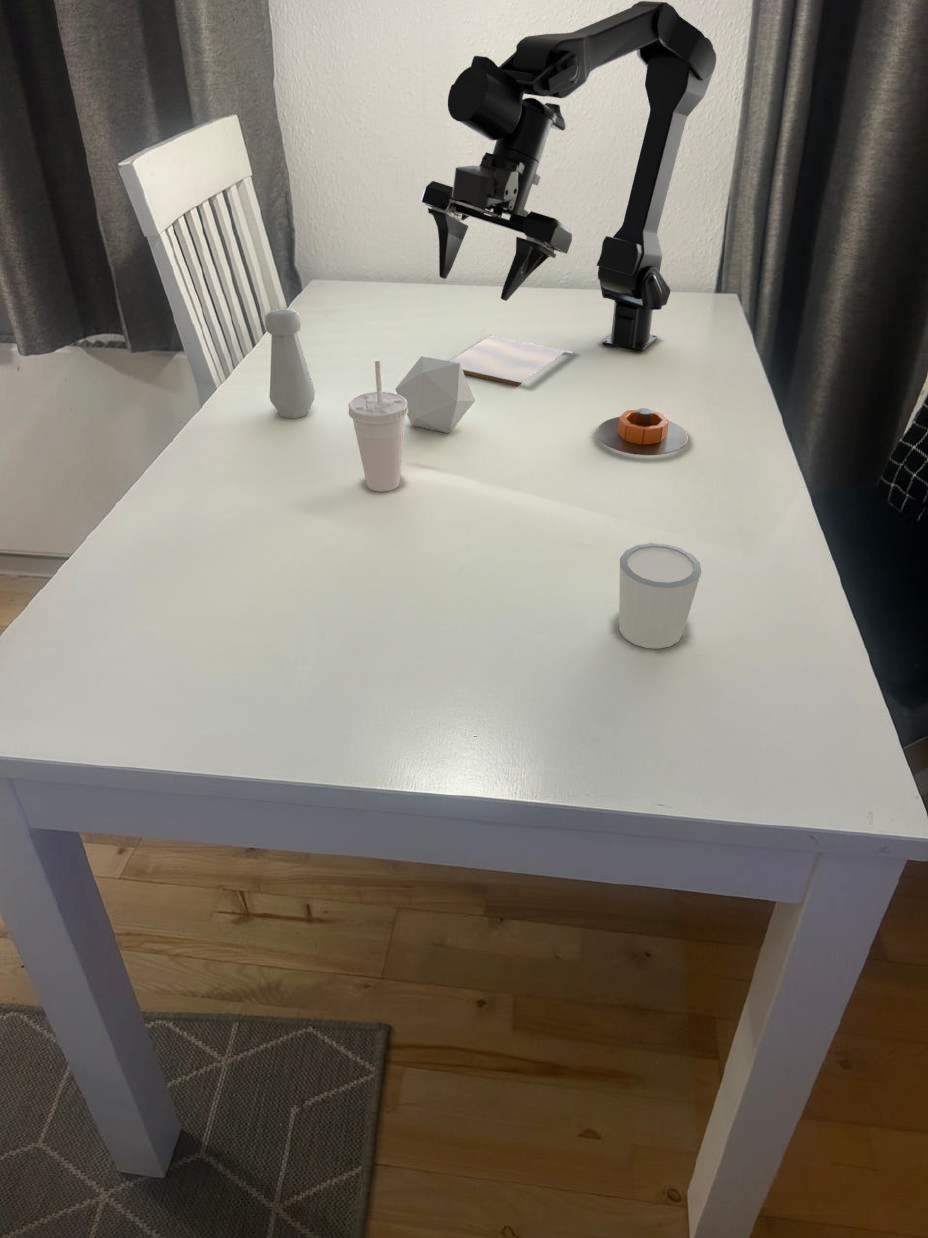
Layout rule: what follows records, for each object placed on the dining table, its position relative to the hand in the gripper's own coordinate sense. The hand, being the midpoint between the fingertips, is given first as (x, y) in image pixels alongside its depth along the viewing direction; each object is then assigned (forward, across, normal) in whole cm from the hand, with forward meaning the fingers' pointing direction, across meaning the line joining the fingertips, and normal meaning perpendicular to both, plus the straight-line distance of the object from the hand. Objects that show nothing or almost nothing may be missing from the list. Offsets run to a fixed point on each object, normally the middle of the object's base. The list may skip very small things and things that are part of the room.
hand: (472, 288), depth 112 cm
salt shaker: (+22, -15, -7) cm, 28 cm away
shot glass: (+23, +43, -24) cm, 54 cm away
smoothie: (+23, +6, -16) cm, 29 cm away
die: (+17, +2, -1) cm, 17 cm away
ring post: (+10, +25, +7) cm, 28 cm away
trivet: (+7, -2, +19) cm, 21 cm away
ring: (+9, +25, +7) cm, 28 cm away
